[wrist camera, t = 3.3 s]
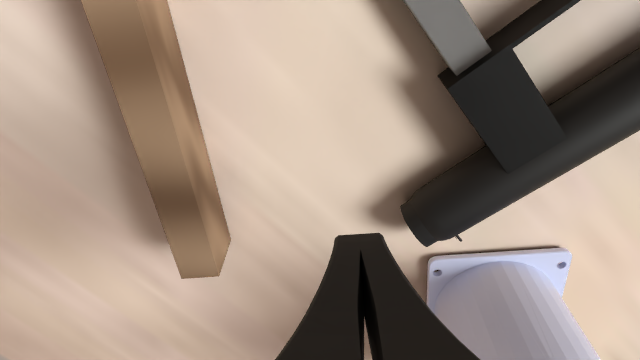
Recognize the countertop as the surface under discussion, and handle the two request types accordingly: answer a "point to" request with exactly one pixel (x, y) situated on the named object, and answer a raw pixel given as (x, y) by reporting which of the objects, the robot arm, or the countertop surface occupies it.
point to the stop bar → (163, 127)
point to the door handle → (512, 118)
